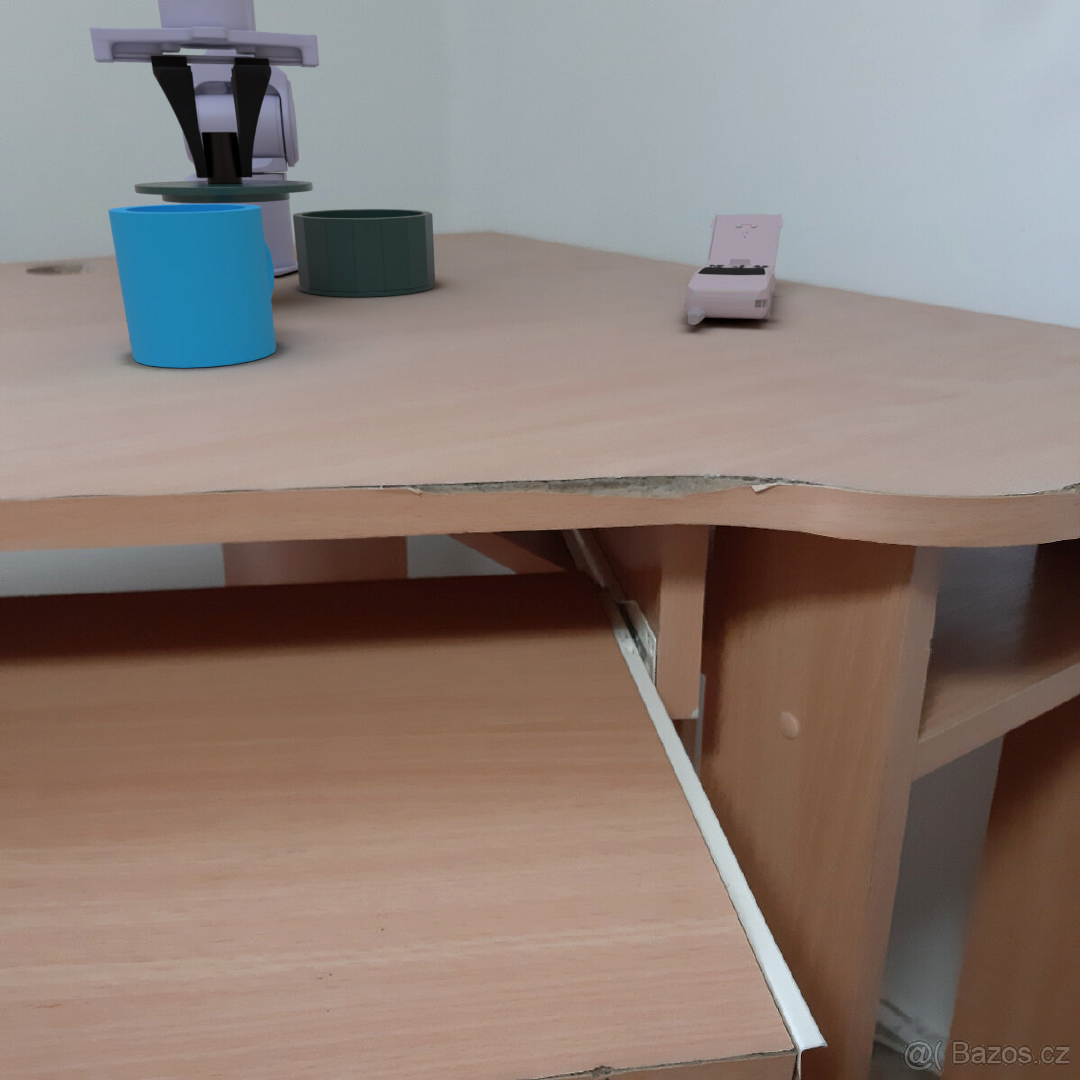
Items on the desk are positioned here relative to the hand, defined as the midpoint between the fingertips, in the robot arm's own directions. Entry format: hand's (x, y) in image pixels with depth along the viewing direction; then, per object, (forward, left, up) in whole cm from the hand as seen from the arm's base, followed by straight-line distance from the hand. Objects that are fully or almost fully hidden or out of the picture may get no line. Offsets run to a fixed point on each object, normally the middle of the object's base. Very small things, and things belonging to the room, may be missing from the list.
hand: (224, 177), depth 68 cm
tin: (+6, +12, -9) cm, 17 cm away
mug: (+6, -14, -9) cm, 17 cm away
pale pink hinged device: (+37, +8, -9) cm, 39 cm away
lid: (0, 0, -1) cm, 1 cm away
